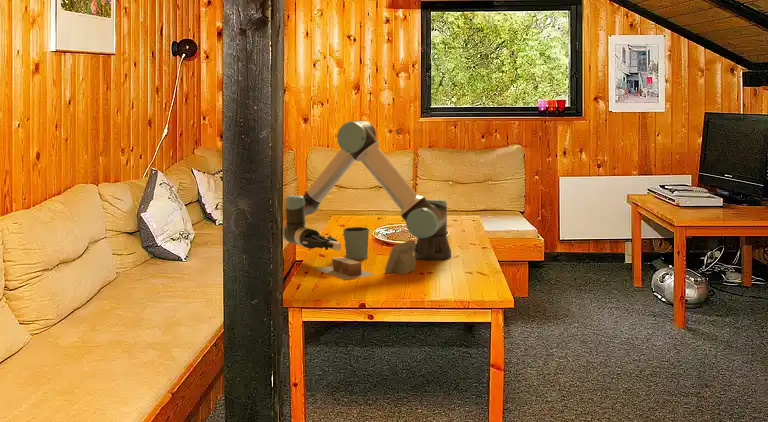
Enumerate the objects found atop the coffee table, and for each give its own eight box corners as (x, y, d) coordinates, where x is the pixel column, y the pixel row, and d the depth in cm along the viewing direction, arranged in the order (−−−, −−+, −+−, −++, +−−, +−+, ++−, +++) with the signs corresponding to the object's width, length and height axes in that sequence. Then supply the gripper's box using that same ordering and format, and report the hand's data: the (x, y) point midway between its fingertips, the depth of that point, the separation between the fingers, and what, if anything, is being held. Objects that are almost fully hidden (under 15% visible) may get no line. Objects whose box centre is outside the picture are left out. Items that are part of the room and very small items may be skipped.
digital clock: (406, 265, 310) (405, 238, 308) (424, 269, 304) (424, 241, 302) (377, 273, 298) (377, 244, 296) (396, 276, 292) (396, 247, 290)
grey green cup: (373, 257, 326) (373, 227, 325) (362, 262, 317) (361, 231, 315) (351, 255, 331) (350, 226, 329) (339, 260, 321) (338, 230, 320)
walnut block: (331, 258, 301) (350, 264, 290) (342, 256, 303) (361, 262, 293) (332, 270, 301) (350, 276, 291) (342, 268, 304) (361, 274, 293)
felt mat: (313, 269, 304) (313, 268, 304) (343, 265, 312) (343, 264, 312) (344, 280, 287) (344, 279, 286) (375, 275, 294) (375, 274, 294)
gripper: (322, 245, 323) (354, 254, 303) (293, 249, 315) (324, 259, 296) (322, 226, 321) (354, 234, 302) (292, 230, 314) (323, 238, 295)
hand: (339, 246), depth 299 cm, fingers closed
